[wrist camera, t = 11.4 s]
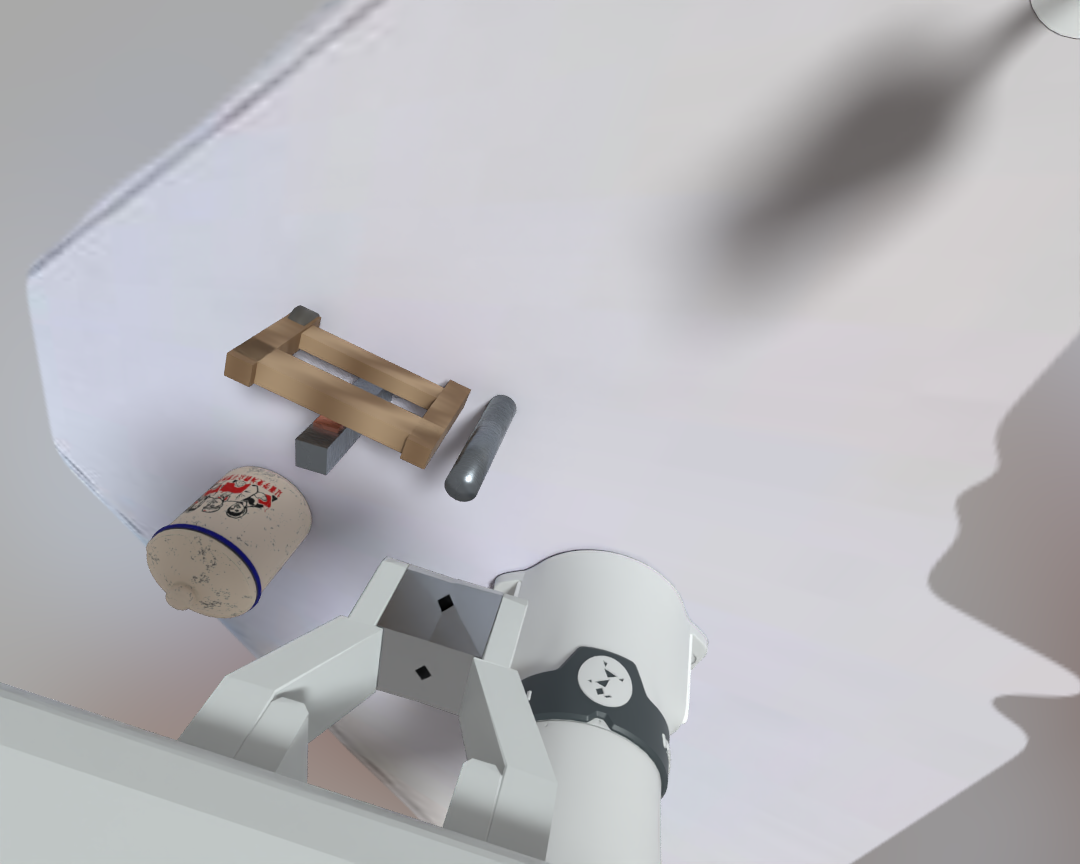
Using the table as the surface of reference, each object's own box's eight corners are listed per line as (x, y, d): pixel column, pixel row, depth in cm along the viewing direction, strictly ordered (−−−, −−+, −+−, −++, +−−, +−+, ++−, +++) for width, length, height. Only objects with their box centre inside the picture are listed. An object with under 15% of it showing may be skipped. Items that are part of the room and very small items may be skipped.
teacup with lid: (296, 461, 50) (204, 556, 41) (328, 546, 55) (253, 650, 45) (175, 461, 53) (62, 550, 43) (215, 542, 58) (120, 639, 48)
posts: (510, 434, 45) (471, 519, 37) (366, 392, 46) (295, 465, 37) (518, 399, 43) (480, 479, 35) (369, 355, 44) (295, 423, 35)
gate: (475, 381, 43) (434, 443, 36) (463, 410, 44) (421, 475, 37) (304, 299, 42) (228, 346, 35) (297, 330, 43) (222, 381, 36)
